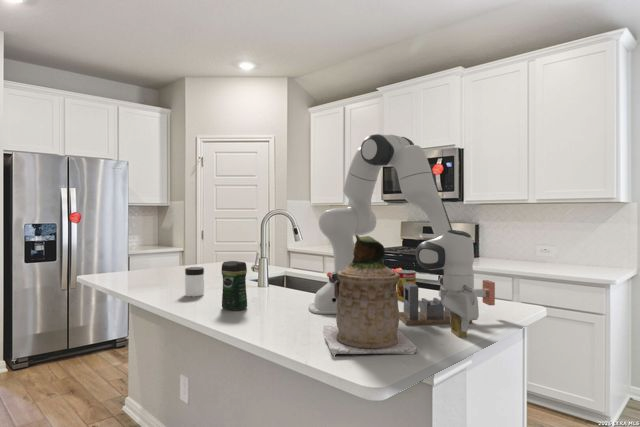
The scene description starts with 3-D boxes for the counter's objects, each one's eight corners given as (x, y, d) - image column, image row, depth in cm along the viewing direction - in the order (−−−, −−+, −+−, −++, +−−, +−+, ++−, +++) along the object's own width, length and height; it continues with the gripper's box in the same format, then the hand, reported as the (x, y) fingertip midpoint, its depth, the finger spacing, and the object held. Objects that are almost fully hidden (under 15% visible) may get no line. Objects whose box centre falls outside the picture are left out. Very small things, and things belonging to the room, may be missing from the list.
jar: (203, 296, 197) (203, 269, 197) (184, 297, 195) (184, 270, 195) (204, 292, 206) (204, 266, 206) (186, 293, 204) (185, 267, 204)
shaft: (442, 306, 154) (442, 283, 153) (437, 303, 159) (437, 281, 158) (494, 305, 156) (494, 282, 155) (487, 302, 161) (487, 279, 160)
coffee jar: (250, 307, 175) (250, 260, 175) (237, 312, 168) (236, 263, 168) (232, 305, 180) (231, 259, 180) (218, 309, 173) (217, 261, 173)
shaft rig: (406, 325, 149) (406, 288, 148) (396, 316, 161) (396, 281, 160) (472, 323, 151) (472, 286, 151) (457, 314, 163) (457, 280, 163)
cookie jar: (420, 355, 120) (420, 236, 119) (329, 358, 118) (328, 237, 117) (397, 329, 144) (397, 230, 144) (321, 331, 142) (320, 231, 142)
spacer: (458, 337, 135) (458, 317, 135) (450, 331, 141) (451, 312, 141) (466, 337, 135) (466, 317, 135) (458, 331, 141) (458, 312, 141)
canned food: (407, 302, 183) (407, 273, 183) (392, 299, 189) (392, 271, 189) (419, 299, 188) (419, 271, 188) (404, 296, 194) (404, 269, 194)
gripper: (484, 289, 128) (484, 337, 128) (455, 277, 148) (455, 318, 148) (463, 289, 127) (463, 337, 127) (436, 277, 147) (436, 319, 148)
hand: (458, 327), depth 138 cm, fingers closed on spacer, 6 cm apart
